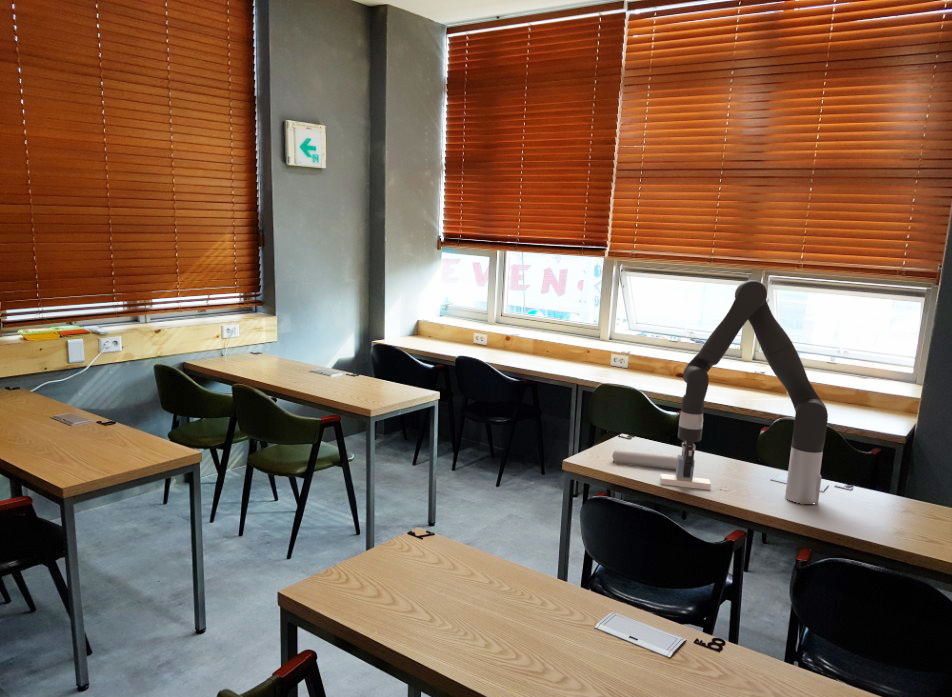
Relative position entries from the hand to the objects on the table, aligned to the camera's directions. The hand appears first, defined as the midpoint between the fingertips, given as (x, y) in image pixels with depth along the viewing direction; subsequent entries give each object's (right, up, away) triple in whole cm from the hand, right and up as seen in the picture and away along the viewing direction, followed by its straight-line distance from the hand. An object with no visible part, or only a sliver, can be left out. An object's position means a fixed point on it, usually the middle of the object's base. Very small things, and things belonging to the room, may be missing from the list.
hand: (685, 474), depth 239 cm
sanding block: (-1, -1, 0) cm, 1 cm away
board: (0, -4, 0) cm, 4 cm away
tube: (-8, -1, +19) cm, 21 cm away
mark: (+12, -5, -2) cm, 13 cm away
